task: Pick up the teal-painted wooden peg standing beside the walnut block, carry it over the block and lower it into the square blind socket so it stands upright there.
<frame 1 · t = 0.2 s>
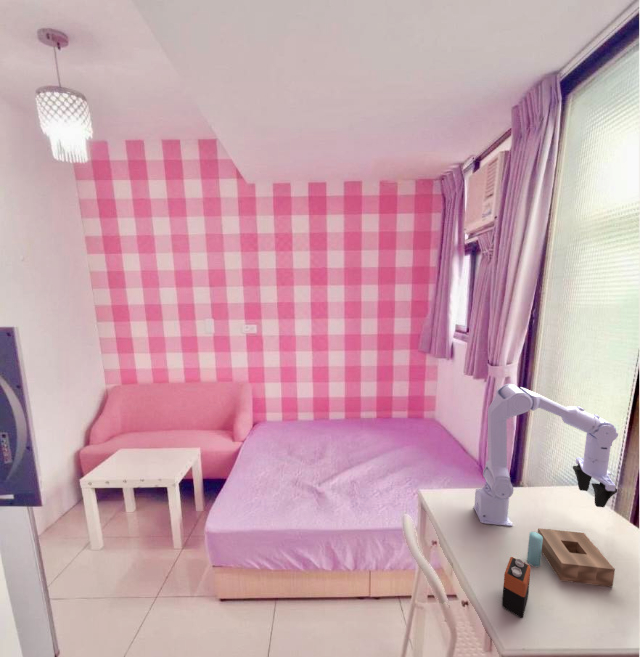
hand: (591, 497, 100), 10 cm above the table, fingers open, 7 cm apart
teal peg: (533, 562, 89), on the table
battery: (514, 603, 78), on the table
socket block: (571, 563, 88), on the table
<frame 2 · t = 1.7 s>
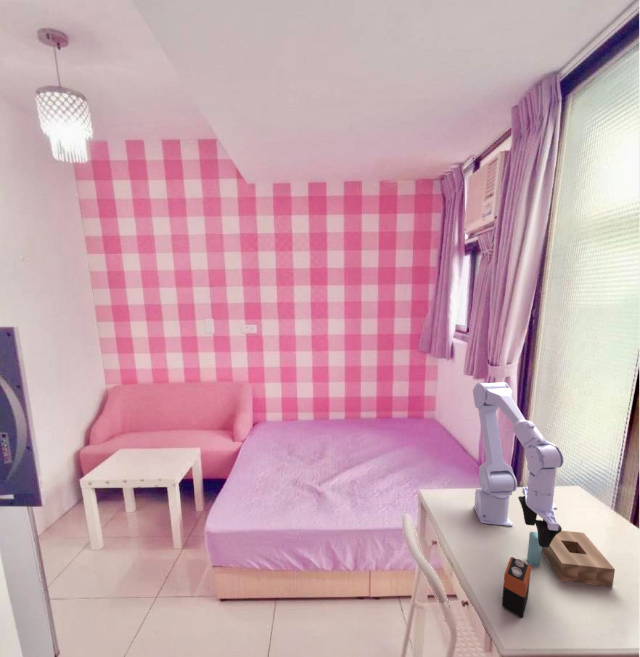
hand: (536, 534, 87), 8 cm above the table, fingers open, 7 cm apart
nothing on the table moved.
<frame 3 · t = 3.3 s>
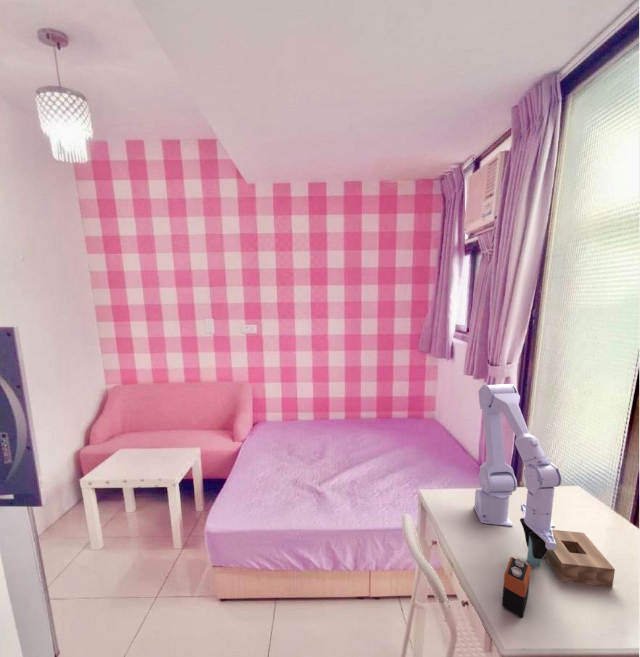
hand: (534, 552, 88), 3 cm above the table, fingers closed on teal peg, 3 cm apart
teal peg: (533, 562, 89), on the table, touching gripper
everything else where it was.
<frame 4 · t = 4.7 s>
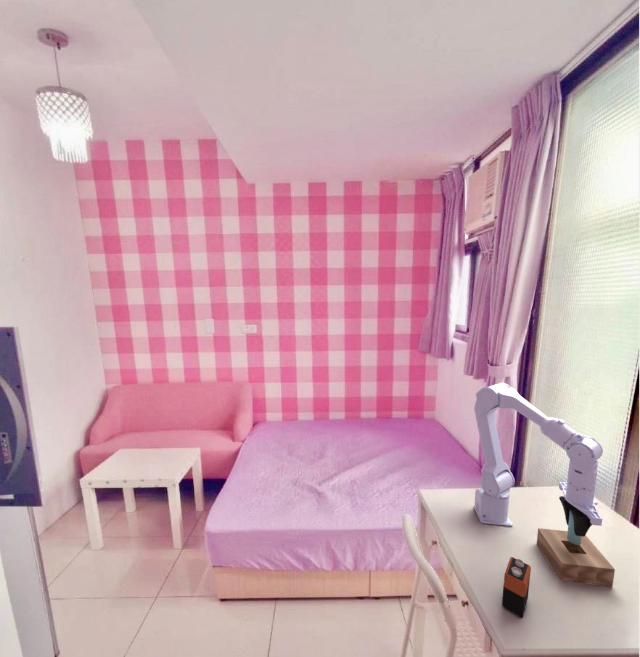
hand: (575, 530, 87), 10 cm above the table, fingers closed on teal peg, 3 cm apart
teal peg: (573, 540, 87), point 7 cm above the table, touching gripper
everything else where it was.
when the fingers open (6 cm above the table, at t = 6.3 s): teal peg drops 2 cm, resting on socket block.
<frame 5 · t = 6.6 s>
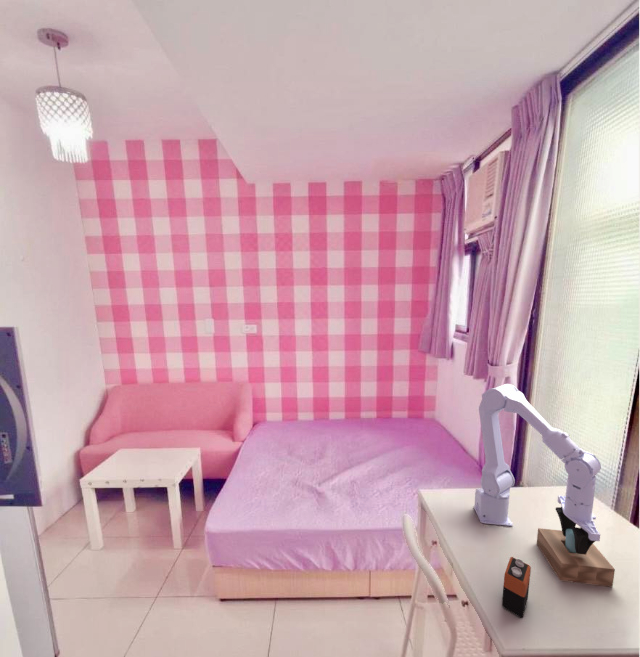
hand: (573, 544, 87), 6 cm above the table, fingers open, 5 cm apart
teal peg: (571, 559, 88), point 1 cm above the table, touching socket block
everything else where it was.
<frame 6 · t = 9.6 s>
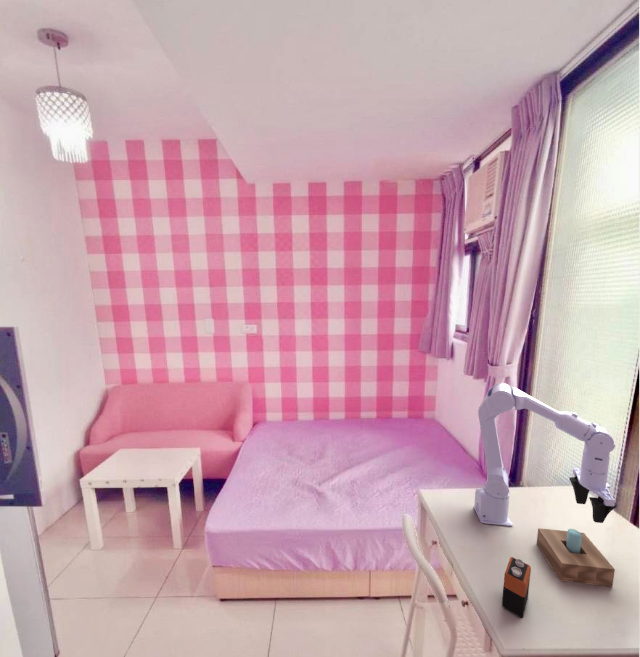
hand: (589, 512, 93), 10 cm above the table, fingers open, 7 cm apart
nothing on the table moved.
at the end: teal peg 0.1 cm off-centre on the socket block, point 1.1 cm above the socket block's base; teal peg tilted 1°; the gripper is holding nothing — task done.
